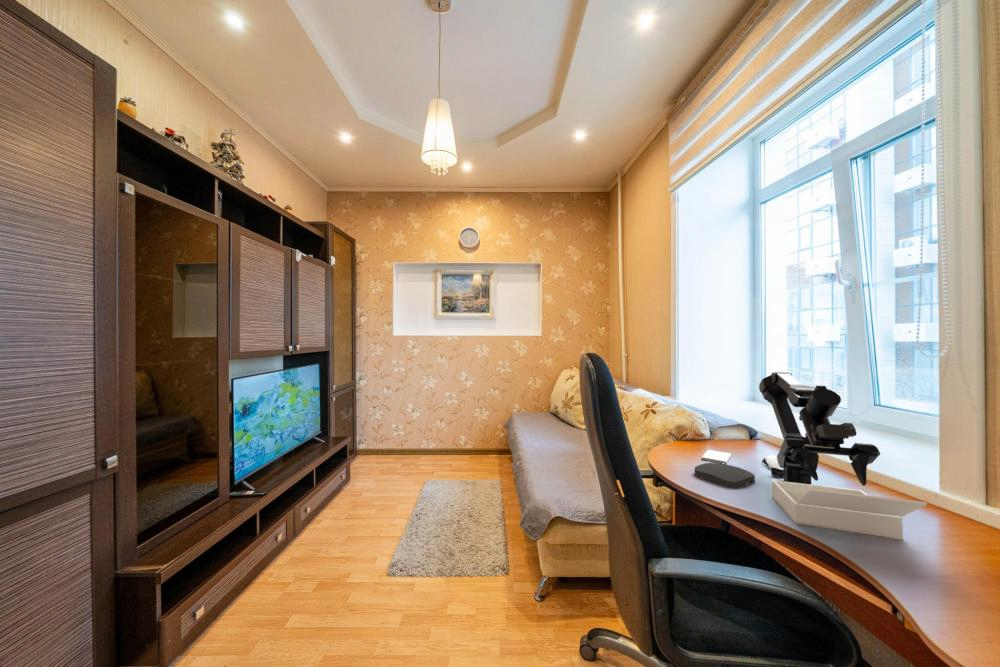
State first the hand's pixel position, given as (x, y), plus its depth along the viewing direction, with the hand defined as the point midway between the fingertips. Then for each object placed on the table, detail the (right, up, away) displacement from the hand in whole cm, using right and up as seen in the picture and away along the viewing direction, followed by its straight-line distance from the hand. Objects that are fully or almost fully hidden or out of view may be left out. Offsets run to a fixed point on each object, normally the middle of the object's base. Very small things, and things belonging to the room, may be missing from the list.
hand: (840, 482), depth 87 cm
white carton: (+2, -11, +5) cm, 12 cm away
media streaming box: (-9, -12, +31) cm, 35 cm away
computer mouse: (+15, -12, +38) cm, 43 cm away
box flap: (-1, -6, -2) cm, 6 cm away
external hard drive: (+1, -13, +51) cm, 52 cm away
